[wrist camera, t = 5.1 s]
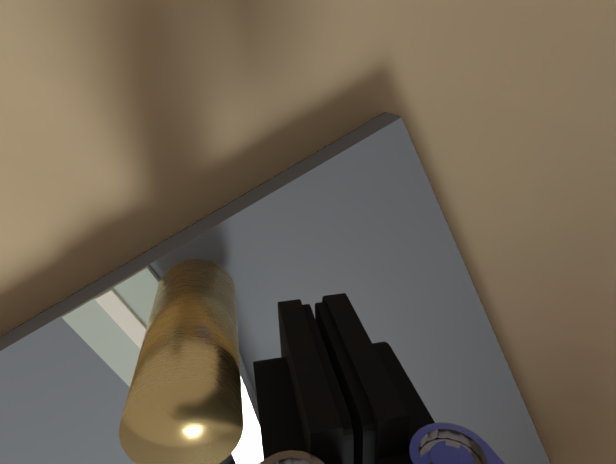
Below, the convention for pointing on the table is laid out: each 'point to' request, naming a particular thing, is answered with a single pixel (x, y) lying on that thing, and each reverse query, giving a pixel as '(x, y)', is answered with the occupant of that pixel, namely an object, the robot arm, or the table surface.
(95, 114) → the table surface
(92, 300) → the dial plate
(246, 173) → the table surface
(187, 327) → the lever
